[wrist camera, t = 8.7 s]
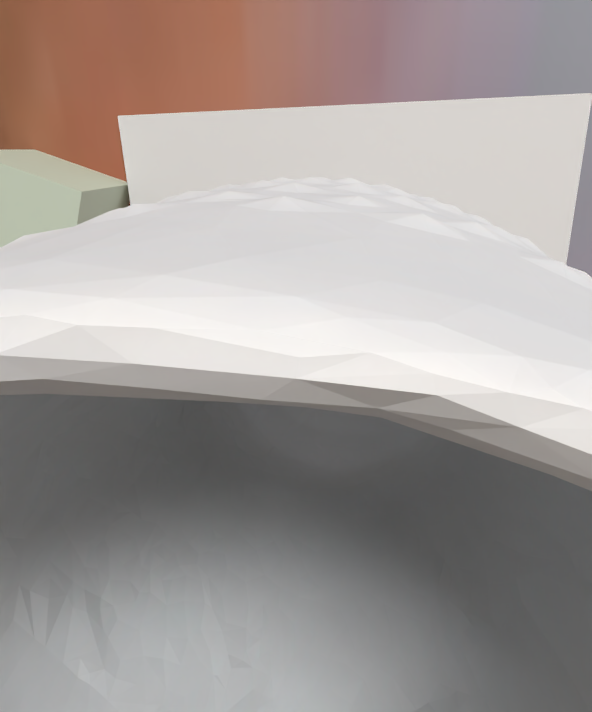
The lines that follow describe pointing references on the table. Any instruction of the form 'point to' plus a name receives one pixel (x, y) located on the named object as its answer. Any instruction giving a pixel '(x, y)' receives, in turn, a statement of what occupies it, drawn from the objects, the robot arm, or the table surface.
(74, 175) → the sage block
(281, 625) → the mug
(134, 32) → the table surface
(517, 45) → the table surface
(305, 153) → the pad
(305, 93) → the table surface
